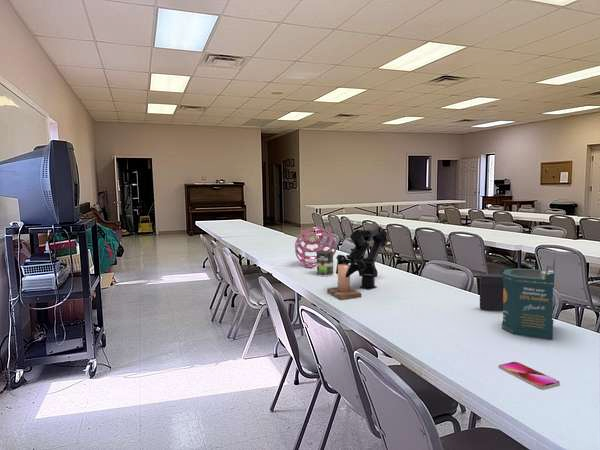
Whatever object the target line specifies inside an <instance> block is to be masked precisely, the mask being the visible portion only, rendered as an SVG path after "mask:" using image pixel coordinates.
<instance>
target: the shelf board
mask: <svg viewBox="0 0 600 450" xmlns="http://www.w3.org/2000/svg"><path fill="white" fill-rule="evenodd" d="M326 289H327V290H326V291H327V294H330V296H331V295H332V296H333V297H335V298H336V299H338V300H339V301H344V300H346V301H347V300H351V299H360V298H362V293H361V292H360V291H357V290H356V289H353V288H352V287H350V291H349V292H339V291H338V286H336V287H328V288H326Z"/></svg>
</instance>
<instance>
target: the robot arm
mask: <svg viewBox="0 0 600 450" xmlns="http://www.w3.org/2000/svg"><path fill="white" fill-rule="evenodd" d="M349 238H350V240H351V241H352V243H353V245H354V246H353V248H350V251H351V252H350V253H349V254H346V256H345V255H343V254H337V256H336V260H337V262H336V263H337V264H336V268H335V269H336V270H335V274H336V275H338V265H339V264H349V265H350V266H349V269H348V271H347V273H346V277H349V276H350V277H351V275H352V274H353V275H354V273H356V272H358V275H359V277H361V285H360V286H359V287H360V288H362V289H365V290H371V289H375V288H378V286H377V285H376V284H375V279H376V278H378V273H379V272H378V270H377V268H376V265H375V263H376V261H377V258H378V256H379V253H380V252H381V250H382V248H383V247H386V246H387V244H388V242H389V241H390V236H389V234H388V232H387V231H386V230H385V229H384V228H383V227H382V226H379V225H373V226H372V227H369V228H368V229H355V231H353V232H352V233H351V234H350V237H349ZM371 241H373V244H372V245H370V243H369V242H371ZM370 246H371V247H370ZM367 250H369V253H368V255H367V256H366V257H365V256H364V254H365V253H366V251H367Z"/></svg>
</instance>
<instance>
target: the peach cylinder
mask: <svg viewBox="0 0 600 450" xmlns="http://www.w3.org/2000/svg"><path fill="white" fill-rule="evenodd" d="M349 266H350V263H349V264H339V265H338V274H337V287H338V291H339V292H349V291H350V288H351V275H350V276H349V277H346V273H347V271H348V269H349Z"/></svg>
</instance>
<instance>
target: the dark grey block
mask: <svg viewBox="0 0 600 450" xmlns="http://www.w3.org/2000/svg"><path fill="white" fill-rule="evenodd" d="M503 290H504V280H503V274H488V273H487V274H486V273H484V274H480V275H479V309H480V311H487V312H500V313H501V312H502V313H503Z"/></svg>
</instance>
